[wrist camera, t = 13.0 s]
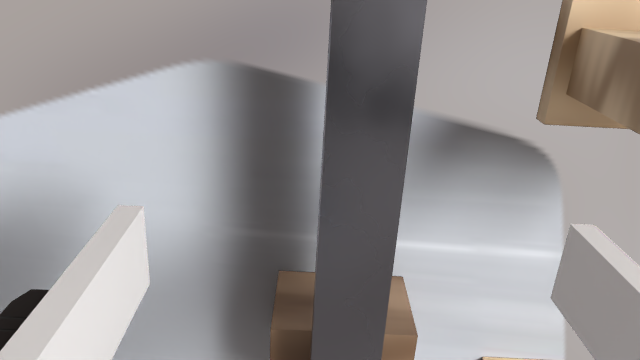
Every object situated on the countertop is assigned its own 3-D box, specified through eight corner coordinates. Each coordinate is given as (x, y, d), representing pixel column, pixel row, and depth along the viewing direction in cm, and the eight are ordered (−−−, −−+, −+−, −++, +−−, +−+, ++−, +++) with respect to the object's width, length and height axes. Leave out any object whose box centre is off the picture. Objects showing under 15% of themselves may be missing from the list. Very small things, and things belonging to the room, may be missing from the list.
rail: (364, 426, 27) (367, 467, 25) (306, 423, 27) (304, 465, 25) (442, -239, 16) (461, -271, 14) (345, -245, 16) (349, -278, 14)
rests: (394, 333, 31) (407, 399, 26) (277, 328, 31) (269, 392, 26) (458, -132, 21) (495, -158, 17) (289, -143, 21) (280, -171, 17)
